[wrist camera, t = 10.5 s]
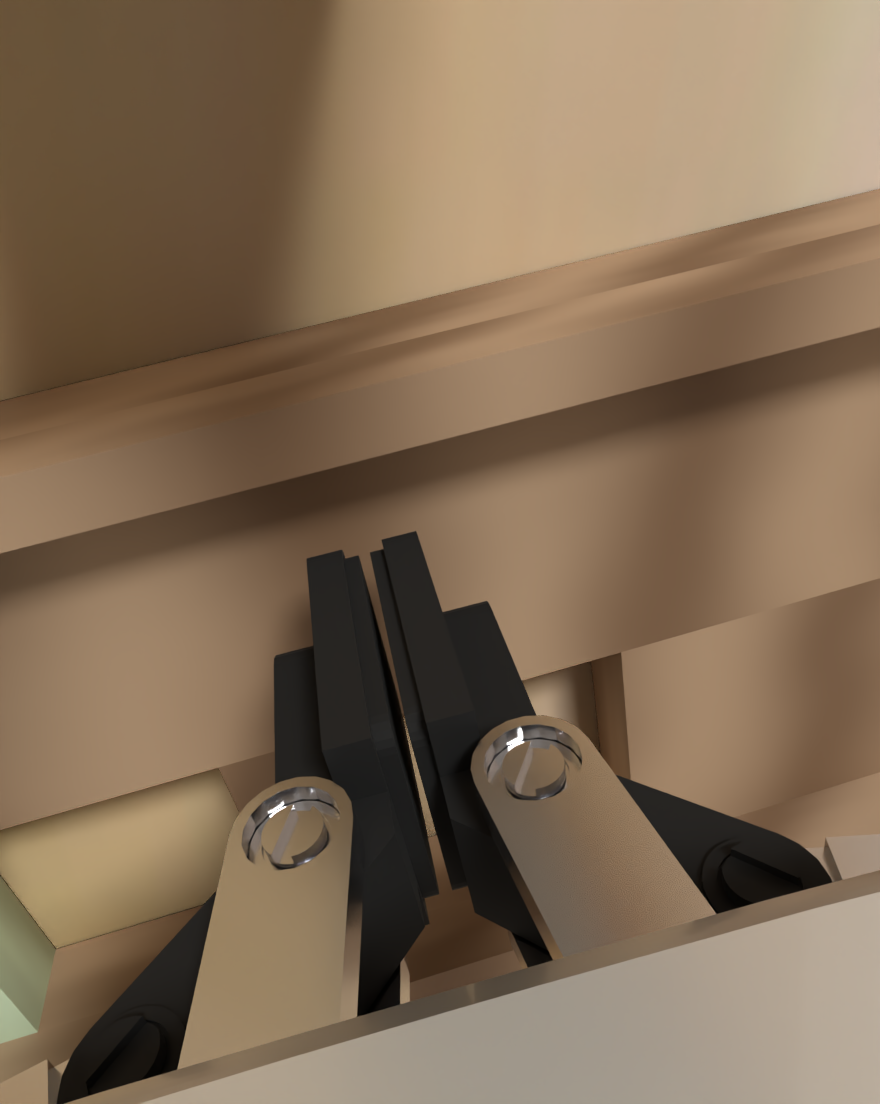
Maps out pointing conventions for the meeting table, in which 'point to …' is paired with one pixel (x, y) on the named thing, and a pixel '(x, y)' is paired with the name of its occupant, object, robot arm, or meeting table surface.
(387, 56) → the meeting table surface
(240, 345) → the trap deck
